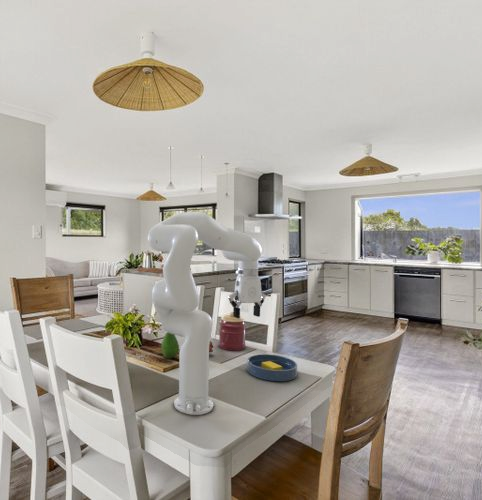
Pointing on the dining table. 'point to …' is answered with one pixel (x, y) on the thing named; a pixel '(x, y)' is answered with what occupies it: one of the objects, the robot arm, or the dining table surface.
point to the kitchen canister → (232, 333)
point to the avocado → (170, 346)
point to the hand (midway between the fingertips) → (246, 316)
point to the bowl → (272, 375)
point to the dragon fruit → (210, 347)
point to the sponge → (271, 366)
